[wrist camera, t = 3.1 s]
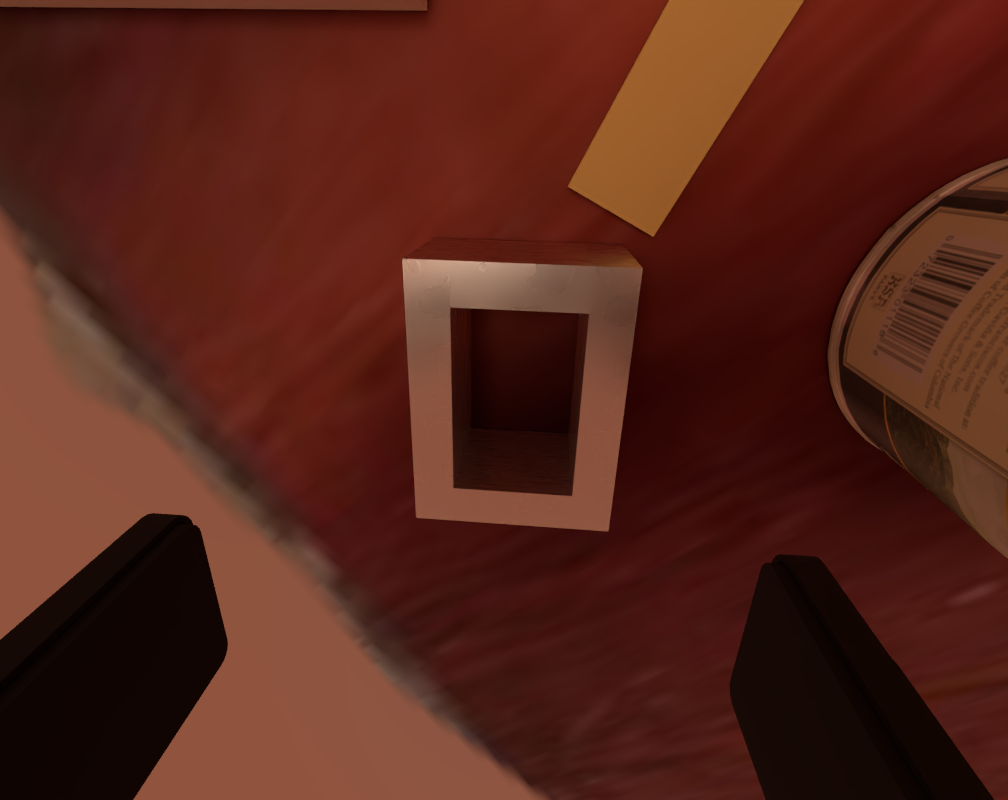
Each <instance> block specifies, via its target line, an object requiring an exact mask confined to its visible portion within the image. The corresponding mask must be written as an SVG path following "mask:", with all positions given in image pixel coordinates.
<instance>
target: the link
mask: <svg viewBox="0 0 1008 800" xmlns="http://www.w3.org/2000/svg"><path fill="white" fill-rule="evenodd" d="M402 263H403V282H404V301H405V319H406V338H407V356H408V375H409V393H410V412H411V430H412V449H413V467H414V486H415V504H416V518H427V519H441V520H455V521H469V522H484V523H498V524H512V525H526V526H540V527H554V528H568V529H582V530H596V531H608V530H609V523H610V515H611V508H612V500H613V492H614V485H615V477H616V469H617V462H618V454H619V447H620V439H621V431H622V424H623V416H624V408H625V401H626V393H627V385H628V378H629V370H630V363H631V355H632V347H633V340H634V332H635V324H636V317H637V309H638V302H639V294H640V286H641V279H642V271H643V268H642V267H641V265H640V264H639V263H638V262H637V261H636V259H635V258H634V257H633V256H632V255H631V253H630V252H629V251H628V250H627V249H626V247H625V246H624V245H623V244H597V243H570V242H543V241H515V240H488V239H461V238H433V239H431V240H430V241H428V242H427V243H425V244H424V245H422V246H421V247H419V248H418V249H416V250H415V251H413V252H412V253H410V254H409V255H407V256H406V257H404V258H403V259H402ZM471 308H473V309H495V310H517V311H539V312H561V313H579V315H578V327H577V338H576V350H575V362H574V374H573V386H572V398H571V409H570V421H569V433H568V434H566V433H549V432H532V431H516V430H499V429H482V428H471Z"/></svg>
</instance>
